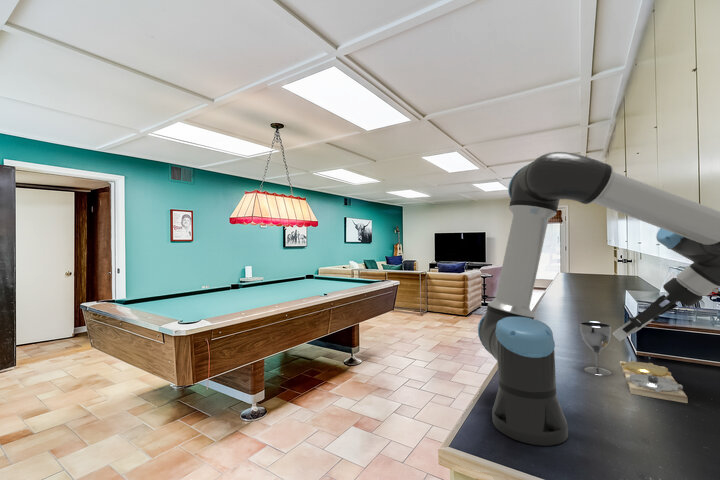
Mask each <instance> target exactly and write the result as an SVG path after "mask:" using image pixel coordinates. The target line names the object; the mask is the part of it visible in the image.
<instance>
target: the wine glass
mask: <svg viewBox="0 0 720 480" xmlns="http://www.w3.org/2000/svg"><path fill="white" fill-rule="evenodd" d="M579 326H580V327H579V329H580V334H581V337H582V340H583V341H584V343H585V344H586V346H587V347H589V348H590V349H591V350H592V352H593V354H594V361H595V366H591V367H590V366H587V367H585V368H584V369H583V370H584V371H585V372H586V373H589V374H592V375H595V376H596V375H597V376H602V377H603V376H607V377H608V376H612V371H610V370H608V369H605V368H601V367H600V364H599V363H600V361H599V359H600V354H601V352H602V350H603V349H605V348H606V347H607V346H608V345H609V344H610V341H611V334H612V327H611V324H609V323H605V322H600V321H581V322H579Z"/></svg>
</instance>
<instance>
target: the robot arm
mask: <svg viewBox="0 0 720 480" xmlns="http://www.w3.org/2000/svg"><path fill="white" fill-rule="evenodd" d="M508 196H509V198H510V201H509V205H508V209H509V211H510V212H511V214H512V215H513V216H512V220H511V224H510V227H509V228H510V229H509V234H508V237H507V238H508V239H507V242H506V248H505V253H504V256H503V261H502V266H501V269H500V273H499V274H500V275H499V279H498V284H497V288H496V294H495V297H494V299H493V300H492V301H490V302H488V303H487V307H486V311H485V314H484V315H483V316H482V317H481V319H480V320H479V323H478V325H477V334H478V338H479V340H480V342H481V345H482V346H483V348H484V349H485V350H486V351H487V352H488V353H489V354H490V355H491V356H492V357H493V358H494V359H495V360H496V362H497V371H498V372H497V374H498V390H497V393H496V397H495V399H494V403H493V406H492V409H491V410H492V411H491V412H492V414H491V416H492V424H493V425H494V427H495V428H496V429H497V431H499V432H500V433H502V434H503V435H505V436H507V437H508V438H510V439H513V440H516V441H517V442H521V443H525V444H529V445H534V446H543V447H544V446H555V445H560V444H562V443H564V442H565V441H566V440H567V439H568V437H569V426H568V421H567V419H566V417H565V414H564V411H563V409H562V406H561V404H560V402H559V399H558V397H557V381H556V378H557V376H556V357H555V346H556V345H555V340H554V334H553V333H554V332H553V331H552V329H551V327H550V326H549V325H548V324H546V323H545V322H543V321H541V320H538V319H535V315H534V313H533V311H532V310H531V307H530V305H531V302H532V297H533V293H534V288H535V283H536V278H537V275H538V269H539V265H540V260H541V255H542V251H543V246H544V243H545V242H544V241H545V237H546V233H547V227H548V223H549V220H550V219H552V218H554V217H555V216H556V215H557V212H558V208H559V204H560V200H568V201H575V202H578V203H581V204H583V205H590V204H592V203H594V204H596V205H599V206H602V207H604V208H607V209H610V210H611V211H615V212H617V213H620V214H623V215H625V216H628V217H630V218H634V219H636V220H637V221H640V222H644V223H646V224H648V225H649V224H650V225H652V226H654V227H657V228H659V229H658V231H657V232H656V236H655V237H656V241H657V242H658V243H659V244H661V245H663V246H664V247H666V248H667V249H669V250H671V251H673V252H674V253H676V254H678V255H680V256H682V257H684V258H686V259H687V260H690V261H691V262H692V263H691V264H689V265H688V266H686V267H685V268H684V269H683V270H681V271H680V272H679V273H678V274H677V275H676V277H672V278H671V279H670V280H668V281H667V282H665V283H664V284H663V286H662V288H663V290H664V291H666V292H667V293H668V295H665V294H662V295H661V296H659V297H657V298H656V299H655V301H653V302H652V303H650V304H649V306H648V307H647V308H646V309H644V310H643V311H641V312H640V313H638V314H637V315H636V316H634V317H631V316H628V318H627V319H628V321H627V322H625V323H624V324H623V325H621V326H620V327H619V328H617V329H615V330H614V331H613V332H611V334H612V336H614V338H616V339H617V340H618V341H619V342H622V341H623V340H624V339H626V338H627V337H629V336H631V335H632V334H635V333H636V332H638V331H640V330H641V329H642V328H644V327H645V326H647V325H648V324H650V323H652V321H654V322H657V321H658V320H659V319H660V318H659V317H660V316H662V315H664V314H665V313H668V312H669V311H672V310H674V309H675V308H676V307H678V306H679V305H678V304H677V303H679V302H680V303H681V304H683V305H685V306H688V307H693V306H694V305H695V304H697V303H699V301H700V302H701V300H703V297H707V296H708V295H709V294H712V292H713V293H716V294H717V293H719V291H720V290H719V289H718V288H720V210H717V209H714V208H712V207H709V206H706V205H704V204H701V203H698V202H696V201H693V200H691V199H688V198H685V197H682V196H680V195H678V194H675V193H671V192H669V191H667V190H664V189H661V188H658V187H656V186H653V185H651V184H647V183H645V182H642V181H639V180H636V179H635V178H632V177H629V176H627V175H624V174H620V173H618V172H616V171H614V167H613V166H612V165H610V164H608V163H605V162H604V161H600V160H597V159H595V158H591V157H588V156H584V155H581V154H577V153H573V152H567V151H554V152H553V151H552V152H548V153H545V154H541V156H538V157H537V158H536V159H535V160H533V161H531V162H530V163H528V164H527V165H524V166H522V167H520V168H519V170H517V171H516V172H515V174H514V175H512V177H511V179H510V181H509V183H508Z"/></svg>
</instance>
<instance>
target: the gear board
mask: <svg viewBox="0 0 720 480" xmlns="http://www.w3.org/2000/svg"><path fill="white" fill-rule="evenodd" d="M619 366H620V370H621V372H622V374H623V377H624V380H625V382H626V385H627V387H628V389H629V392H630V395H635V396H641V397H642V396H643V397H648V398H653V399H654V398H655V399H661V400H666V401H673V402H678V403H684V404H689V403H688V396H687V395H686V393H685V392H684V391H683V390H684V387H683V385H682V384H679V383H678V382H677V381H676V380H675V379H674V377H673V376H672V372H670V371H669V368H667V367H665V366H661V365H657V364H654V363H652V362H640V361H636V360H631V361H621V360H620V361H619Z"/></svg>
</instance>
